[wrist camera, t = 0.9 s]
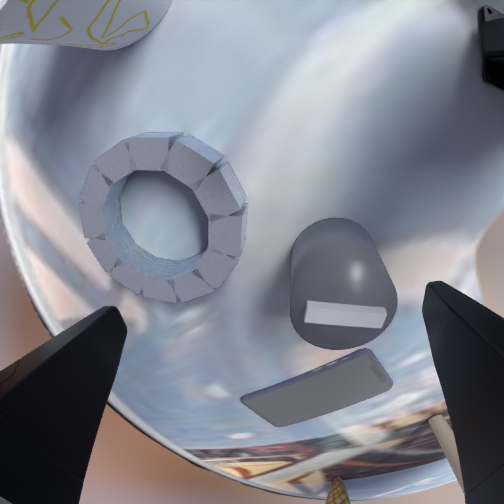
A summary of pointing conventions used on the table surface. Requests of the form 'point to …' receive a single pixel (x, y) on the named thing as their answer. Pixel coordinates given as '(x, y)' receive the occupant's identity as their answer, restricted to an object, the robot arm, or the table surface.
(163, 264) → the segmented grey ring
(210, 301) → the table surface
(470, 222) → the table surface
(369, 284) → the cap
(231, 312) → the table surface
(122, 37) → the grey cylinder
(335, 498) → the ice cream cone
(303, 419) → the smartphone
